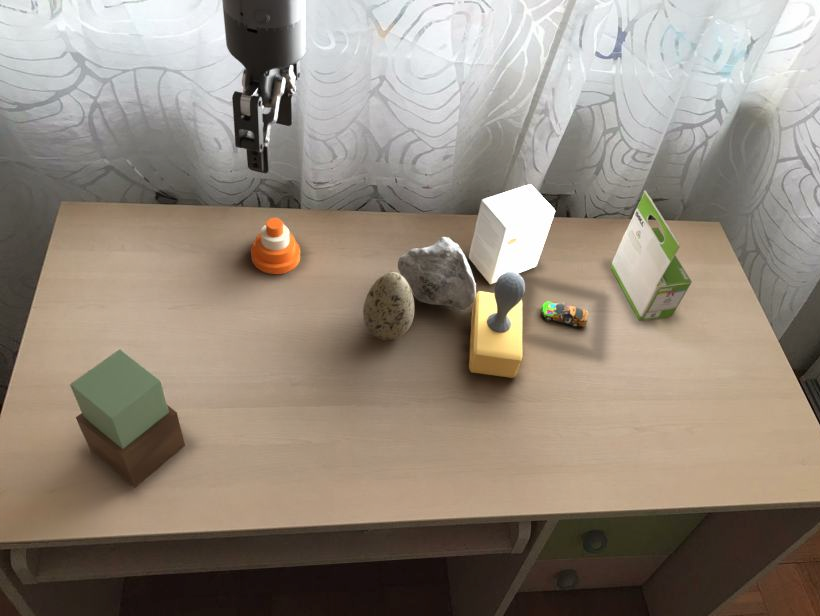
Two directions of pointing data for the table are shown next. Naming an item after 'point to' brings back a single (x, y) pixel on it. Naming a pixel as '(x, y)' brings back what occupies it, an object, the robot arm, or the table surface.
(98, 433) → the walnut block
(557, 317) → the toy car
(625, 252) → the ink box
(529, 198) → the small box
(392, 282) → the decorative egg
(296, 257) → the cone
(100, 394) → the sage block
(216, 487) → the table surface
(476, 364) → the rubber stamp
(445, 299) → the stone
